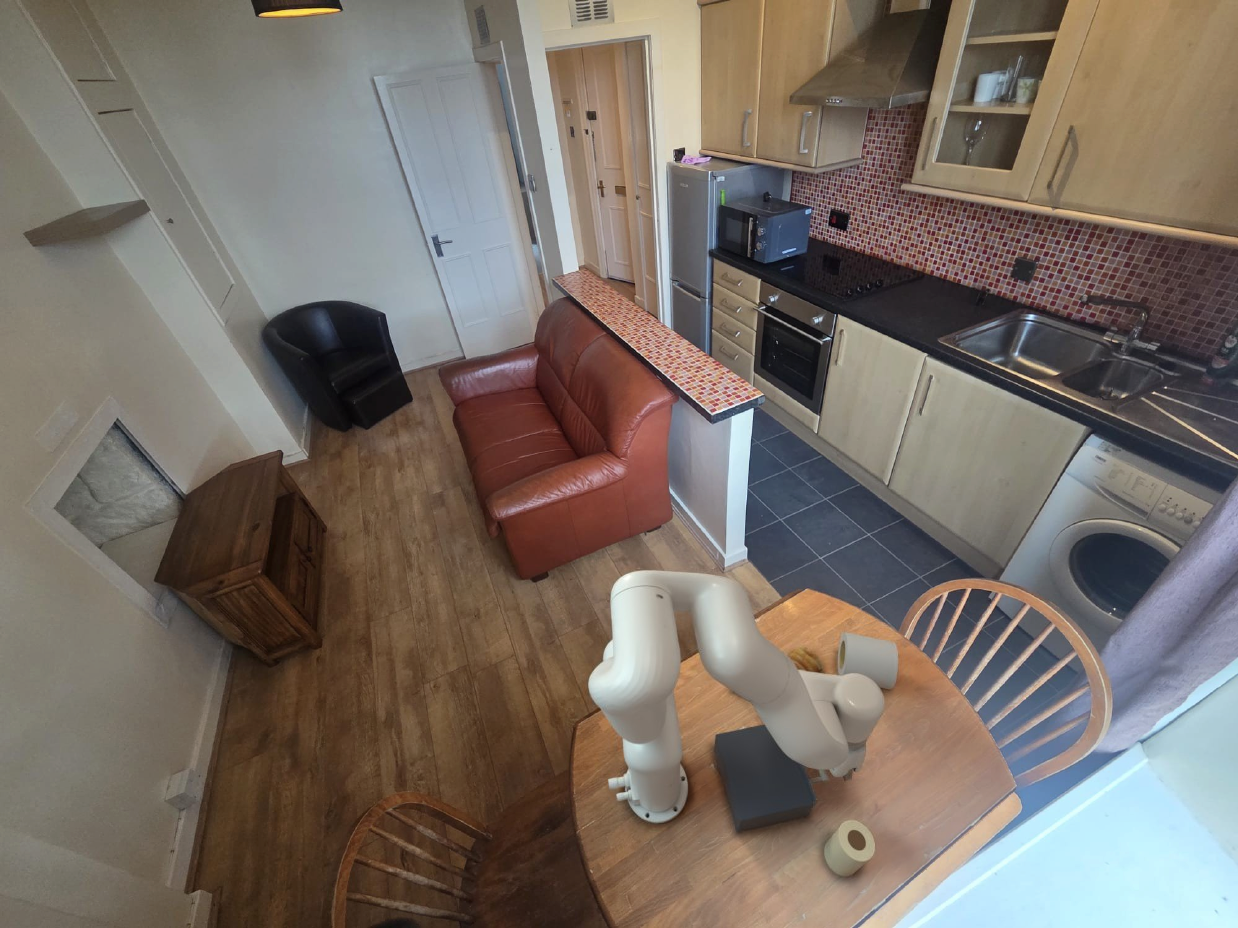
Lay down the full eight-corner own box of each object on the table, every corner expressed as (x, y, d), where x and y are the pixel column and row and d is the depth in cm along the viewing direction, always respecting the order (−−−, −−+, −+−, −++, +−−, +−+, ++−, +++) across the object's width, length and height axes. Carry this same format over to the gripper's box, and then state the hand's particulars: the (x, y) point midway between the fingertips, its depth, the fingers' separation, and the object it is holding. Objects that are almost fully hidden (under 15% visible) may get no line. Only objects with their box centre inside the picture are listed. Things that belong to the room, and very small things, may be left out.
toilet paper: (838, 685, 114) (847, 664, 107) (837, 645, 121) (846, 623, 114) (887, 697, 112) (900, 676, 105) (883, 655, 118) (895, 633, 112)
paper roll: (833, 879, 90) (848, 864, 81) (818, 841, 94) (832, 823, 85) (863, 872, 90) (882, 856, 82) (847, 834, 94) (864, 816, 86)
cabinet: (775, 736, 108) (781, 720, 102) (806, 817, 97) (814, 803, 91) (713, 749, 107) (715, 734, 101) (736, 832, 96) (740, 820, 90)
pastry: (798, 694, 113) (800, 687, 111) (773, 672, 118) (775, 664, 115) (823, 667, 117) (826, 659, 115) (798, 647, 122) (801, 639, 119)
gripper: (805, 685, 93) (794, 724, 105) (846, 776, 82) (828, 808, 94) (845, 676, 93) (828, 716, 105) (891, 766, 82) (866, 799, 94)
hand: (828, 759), depth 100 cm, fingers closed
